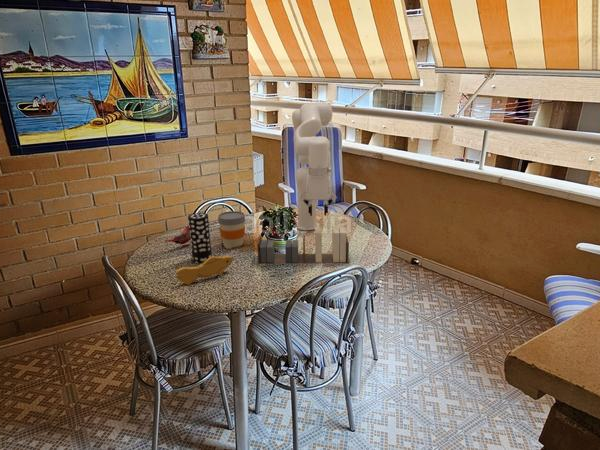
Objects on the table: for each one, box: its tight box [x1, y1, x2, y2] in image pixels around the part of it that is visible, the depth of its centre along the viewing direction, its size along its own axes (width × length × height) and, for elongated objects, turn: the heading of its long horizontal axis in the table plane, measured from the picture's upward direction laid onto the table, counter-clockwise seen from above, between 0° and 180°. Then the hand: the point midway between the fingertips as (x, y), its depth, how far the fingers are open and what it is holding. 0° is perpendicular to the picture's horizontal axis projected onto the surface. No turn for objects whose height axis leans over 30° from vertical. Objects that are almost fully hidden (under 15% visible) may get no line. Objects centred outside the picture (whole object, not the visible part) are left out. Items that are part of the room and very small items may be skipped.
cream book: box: [314, 226, 323, 263], centre depth 171 cm, size 8×2×13 cm, turn 178°
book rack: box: [256, 233, 350, 265], centre depth 173 cm, size 10×38×10 cm, turn 88°
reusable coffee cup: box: [217, 210, 246, 250], centre depth 190 cm, size 13×13×15 cm
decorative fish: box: [175, 254, 233, 285], centre depth 159 cm, size 22×3×10 cm, turn 118°
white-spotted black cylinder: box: [187, 212, 213, 264], centre depth 175 cm, size 8×8×20 cm
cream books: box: [331, 225, 347, 262], centre depth 171 cm, size 8×5×13 cm, turn 178°
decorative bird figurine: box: [164, 224, 191, 248], centre depth 190 cm, size 3×18×10 cm, turn 140°
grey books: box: [260, 239, 299, 263], centre depth 173 cm, size 8×16×7 cm, turn 88°
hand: (318, 214), depth 168 cm, fingers open, 5 cm apart
